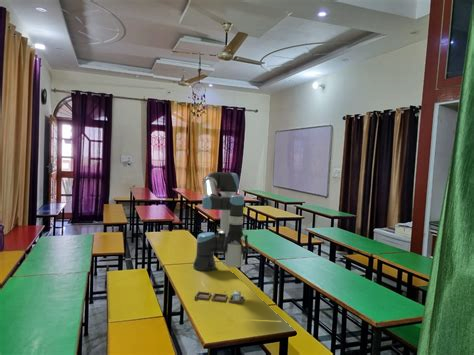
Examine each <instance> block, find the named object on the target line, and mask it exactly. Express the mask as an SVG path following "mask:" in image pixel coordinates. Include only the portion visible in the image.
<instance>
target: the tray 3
mask: <svg viewBox="0 0 474 355" xmlns="http://www.w3.org/2000/svg"><path fill="white" fill-rule="evenodd" d="M244 300H245V296H242V295H241V301H233V294H232V295H230V297H229V299H228V303H230V304H239V305H244Z"/></svg>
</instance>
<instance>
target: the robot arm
mask: <svg viewBox="0 0 474 355" xmlns="http://www.w3.org/2000/svg"><path fill="white" fill-rule="evenodd" d="M201 184H202V187H203V189H204V196H202V202H201V203H202V209H203V210H207V211H210V210H211V211H212V210H215V211H220V227H219V228H220V229H219V231H218V232H217V234H216V233H215V232H214V231H213V232H211V231H208V232H207V231H206V232H201V233H199V234H198V235H197V239H196V256H195V259H194V261H193V266H192V268H193V269H194V270H196V271H200V272H211V271H213V270H214V271H215V270H216V267H217V264H216V261H215V260H216V259H215V257H214V256H215V255H214V254H216V253H223V258H224V259H225V260H224V265H227V248H228V244H230V243H231V242H236V243H239V245H241V250H242V254H241V267H243V265H244V260H245V259H246V254H249V253H250V248H249V241H248V237H249V234H245V233H243V232H244V230H243V228H244V226H243V223H244V209H245V208H244V206H245V196H244V195H239V194H237V191H238V190H240V181H239V176H238V174H237V173H235V172H222V171H220V172H219V171H214V172H211V173H208V174H207V175H205V176H204V178H202V183H201ZM218 190H219V194H221V195H220V196H219V195H218ZM242 237H243V239H244V244H243V240H242ZM244 246H245V247H244Z"/></svg>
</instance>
